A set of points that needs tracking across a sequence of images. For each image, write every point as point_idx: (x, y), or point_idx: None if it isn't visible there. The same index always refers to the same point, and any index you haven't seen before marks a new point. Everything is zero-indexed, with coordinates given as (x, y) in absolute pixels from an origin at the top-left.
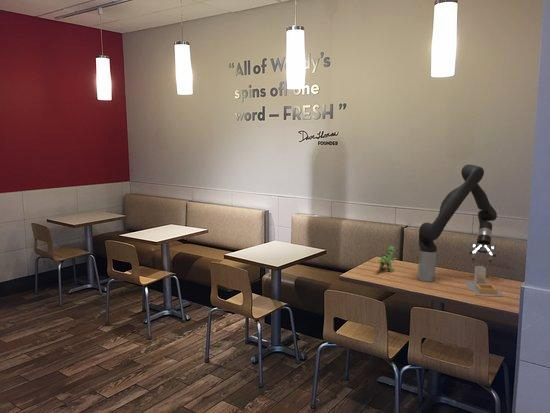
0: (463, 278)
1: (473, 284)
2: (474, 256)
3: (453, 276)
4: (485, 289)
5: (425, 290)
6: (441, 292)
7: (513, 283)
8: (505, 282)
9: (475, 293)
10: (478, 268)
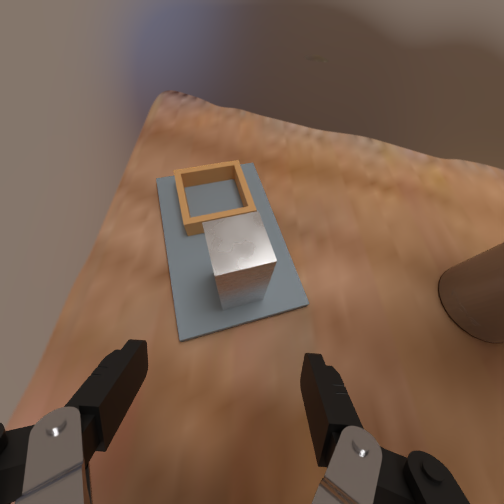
0: None
1: None
2: (315, 374)
3: None
4: (218, 164)
5: (407, 168)
6: (358, 166)
7: None
8: None
9: (253, 167)
10: (252, 213)
